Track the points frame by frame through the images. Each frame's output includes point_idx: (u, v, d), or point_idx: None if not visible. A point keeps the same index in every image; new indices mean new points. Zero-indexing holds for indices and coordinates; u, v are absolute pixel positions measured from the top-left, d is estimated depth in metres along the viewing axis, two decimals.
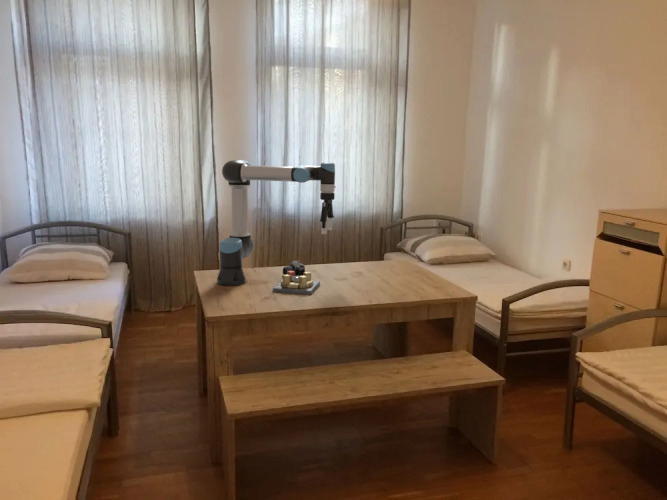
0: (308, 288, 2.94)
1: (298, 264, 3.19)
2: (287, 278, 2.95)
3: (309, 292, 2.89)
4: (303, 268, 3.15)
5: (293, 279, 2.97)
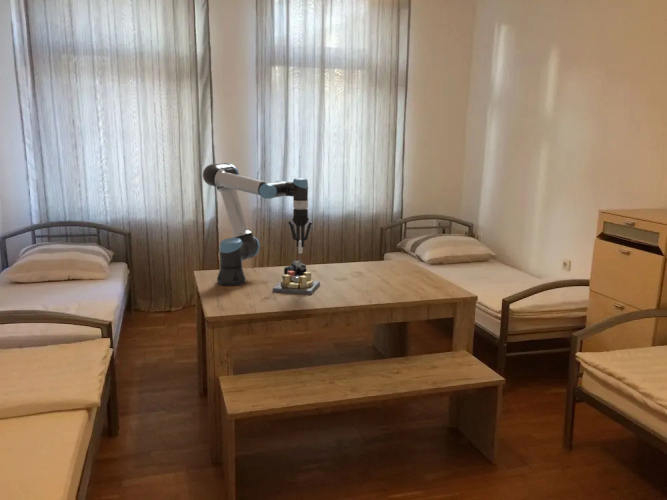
0: (308, 288, 2.94)
1: (299, 264, 3.19)
2: (287, 278, 2.95)
3: (309, 292, 2.89)
4: (304, 268, 3.15)
5: (293, 279, 2.97)
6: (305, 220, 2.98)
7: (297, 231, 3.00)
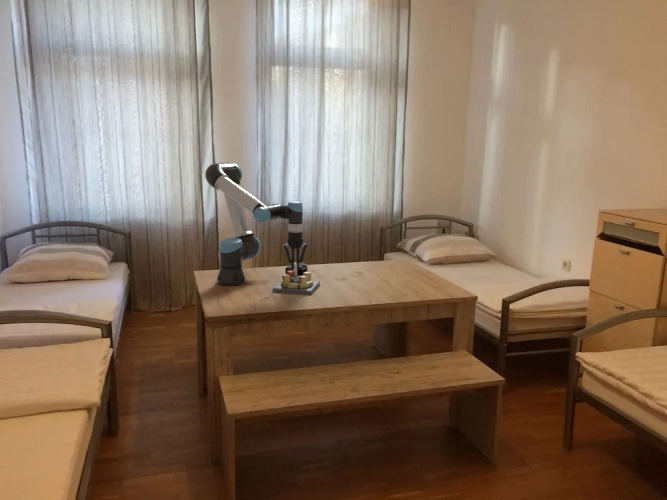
0: (308, 288, 2.94)
1: (301, 264, 3.19)
2: (287, 278, 2.95)
3: (309, 292, 2.89)
4: (306, 268, 3.15)
5: (293, 279, 2.97)
6: (301, 242, 3.02)
7: (293, 254, 3.02)
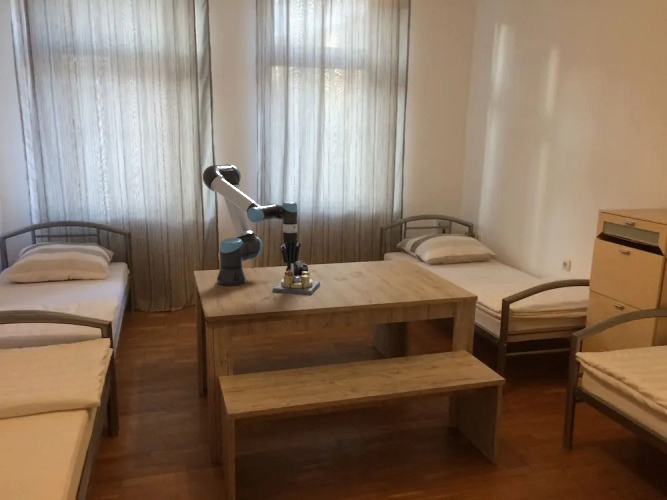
0: (308, 288, 2.94)
1: (301, 264, 3.19)
2: (289, 278, 2.94)
3: (309, 292, 2.89)
4: (306, 268, 3.16)
5: (293, 279, 2.97)
6: (296, 242, 3.02)
7: (290, 254, 3.01)
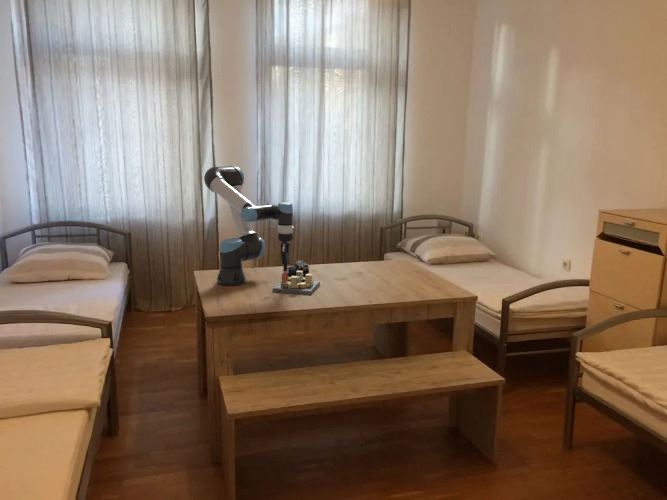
0: (308, 288, 2.94)
1: (302, 264, 3.20)
2: (296, 279, 2.93)
3: (309, 292, 2.89)
4: (307, 268, 3.16)
5: None
6: (288, 242, 3.01)
7: (287, 255, 2.98)
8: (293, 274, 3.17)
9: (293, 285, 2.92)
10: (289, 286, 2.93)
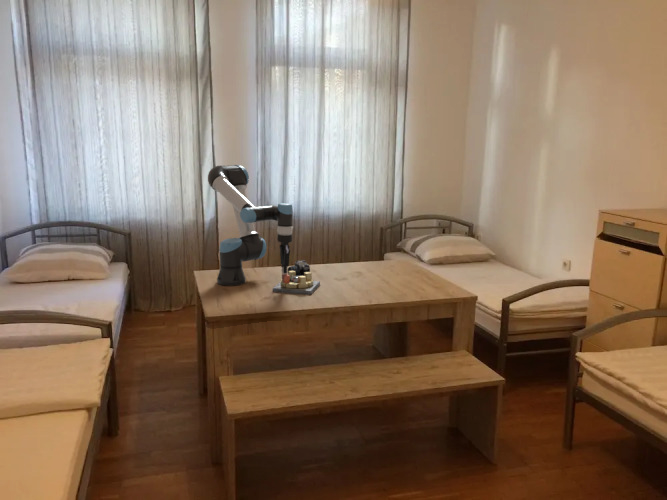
0: (308, 288, 2.94)
1: (303, 264, 3.20)
2: None
3: (309, 292, 2.89)
4: (308, 268, 3.16)
5: (293, 279, 2.97)
6: None
7: None
8: None
9: (303, 285, 2.93)
10: (299, 286, 2.92)
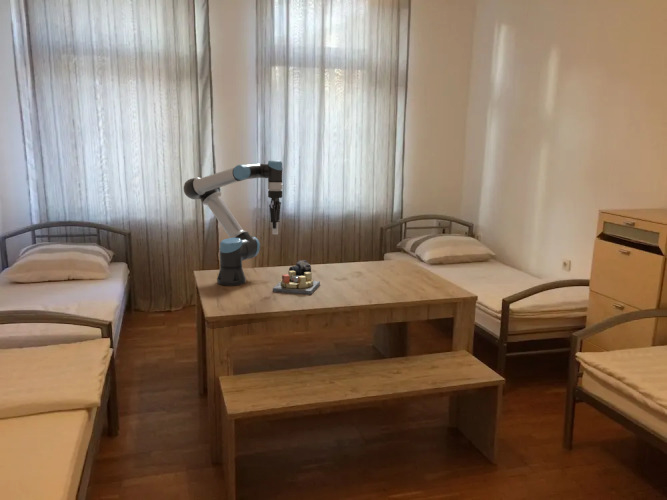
0: (308, 288, 2.94)
1: (304, 264, 3.20)
2: None
3: (309, 292, 2.89)
4: (309, 268, 3.16)
5: (293, 279, 2.97)
6: (278, 201, 3.07)
7: (276, 213, 3.04)
8: None
9: (303, 285, 2.93)
10: (299, 286, 2.92)
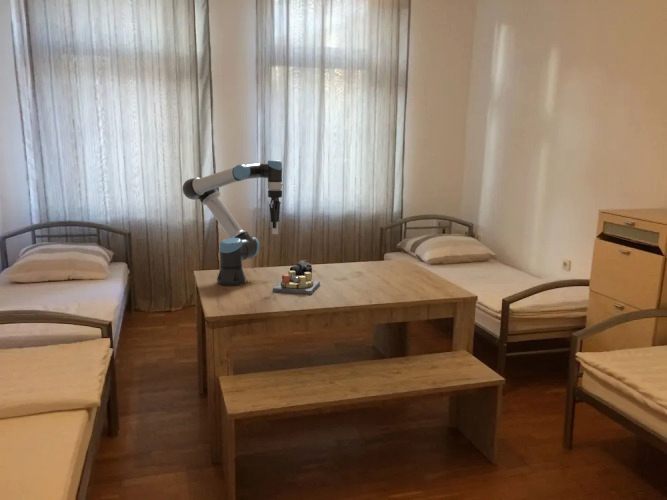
0: (308, 288, 2.94)
1: (305, 264, 3.20)
2: None
3: (309, 292, 2.89)
4: (310, 268, 3.16)
5: (293, 279, 2.97)
6: (278, 200, 3.07)
7: (276, 212, 3.04)
8: (296, 274, 3.18)
9: (303, 285, 2.93)
10: (299, 286, 2.92)
